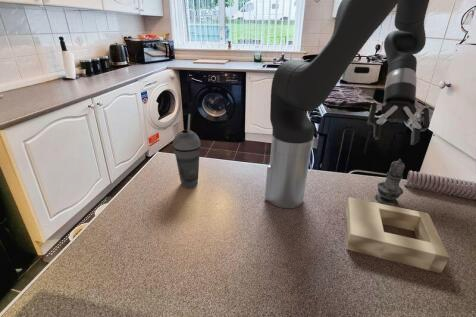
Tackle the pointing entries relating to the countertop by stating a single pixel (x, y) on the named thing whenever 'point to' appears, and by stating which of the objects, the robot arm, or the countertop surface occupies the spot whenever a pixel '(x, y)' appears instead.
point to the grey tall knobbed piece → (391, 185)
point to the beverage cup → (187, 156)
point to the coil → (441, 184)
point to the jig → (390, 245)
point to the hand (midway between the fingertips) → (395, 141)
